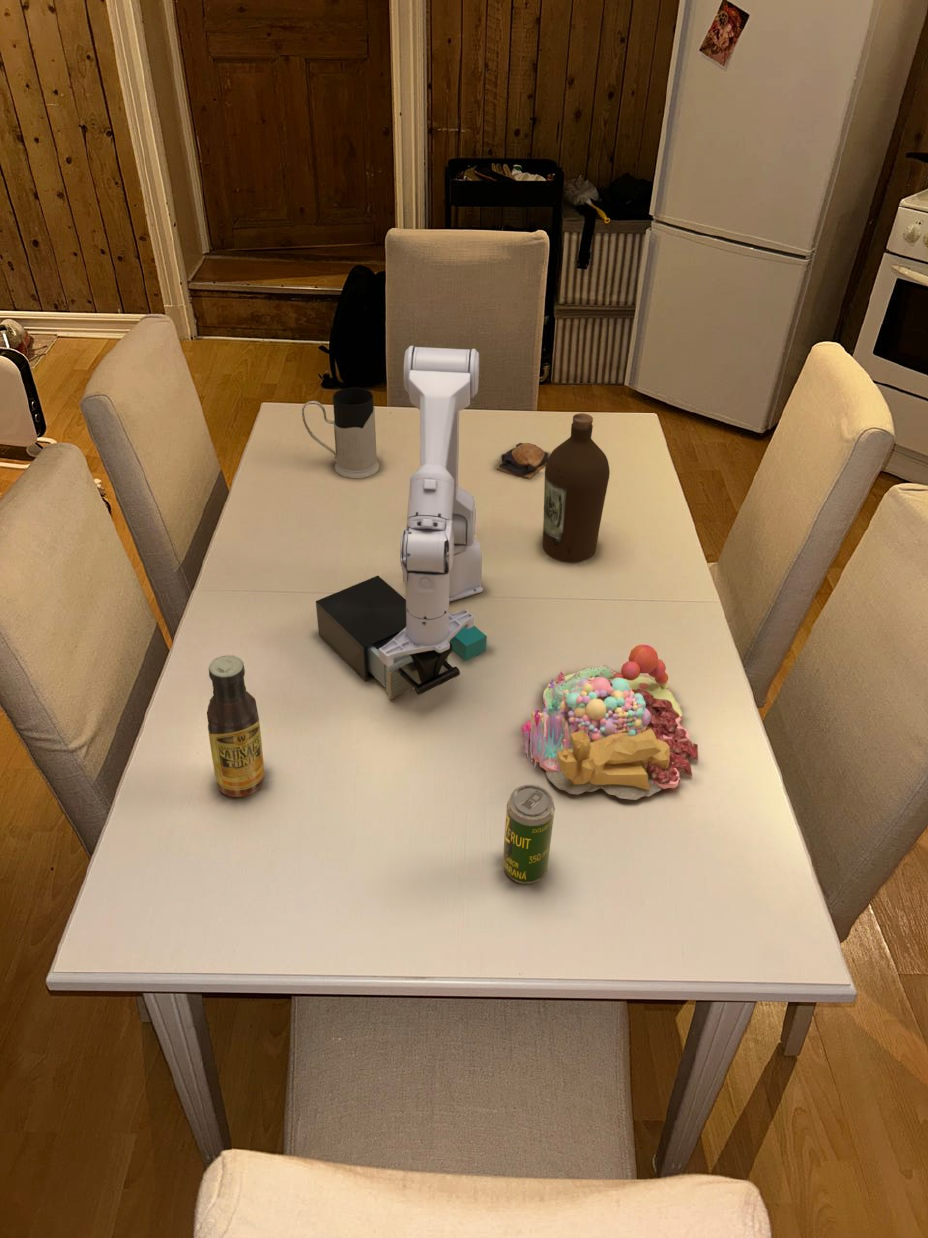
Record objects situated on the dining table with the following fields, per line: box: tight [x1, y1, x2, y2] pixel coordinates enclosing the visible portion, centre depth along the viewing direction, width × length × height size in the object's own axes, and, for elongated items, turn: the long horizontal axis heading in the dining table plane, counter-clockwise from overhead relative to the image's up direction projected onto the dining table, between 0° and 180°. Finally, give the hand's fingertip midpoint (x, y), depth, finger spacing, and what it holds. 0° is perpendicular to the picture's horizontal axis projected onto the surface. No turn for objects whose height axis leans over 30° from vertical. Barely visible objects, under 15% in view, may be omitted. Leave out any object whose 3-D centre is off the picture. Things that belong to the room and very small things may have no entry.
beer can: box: [502, 784, 556, 885], centre depth 111 cm, size 5×5×12 cm
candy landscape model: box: [521, 644, 699, 801], centre depth 129 cm, size 25×24×9 cm
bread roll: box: [496, 442, 552, 480], centre depth 189 cm, size 11×8×4 cm
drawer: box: [367, 635, 461, 699], centre depth 139 cm, size 17×10×5 cm, turn 38°
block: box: [449, 625, 488, 662], centre depth 145 cm, size 4×4×3 cm
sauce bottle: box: [206, 654, 265, 798], centre depth 118 cm, size 7×6×20 cm
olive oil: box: [542, 412, 611, 563], centre depth 160 cm, size 11×11×25 cm
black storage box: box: [315, 575, 406, 683], centre depth 144 cm, size 13×11×7 cm
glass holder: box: [301, 387, 380, 479], centre depth 183 cm, size 9×14×15 cm, turn 89°
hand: (427, 681), depth 136 cm, fingers closed, pressing on drawer
